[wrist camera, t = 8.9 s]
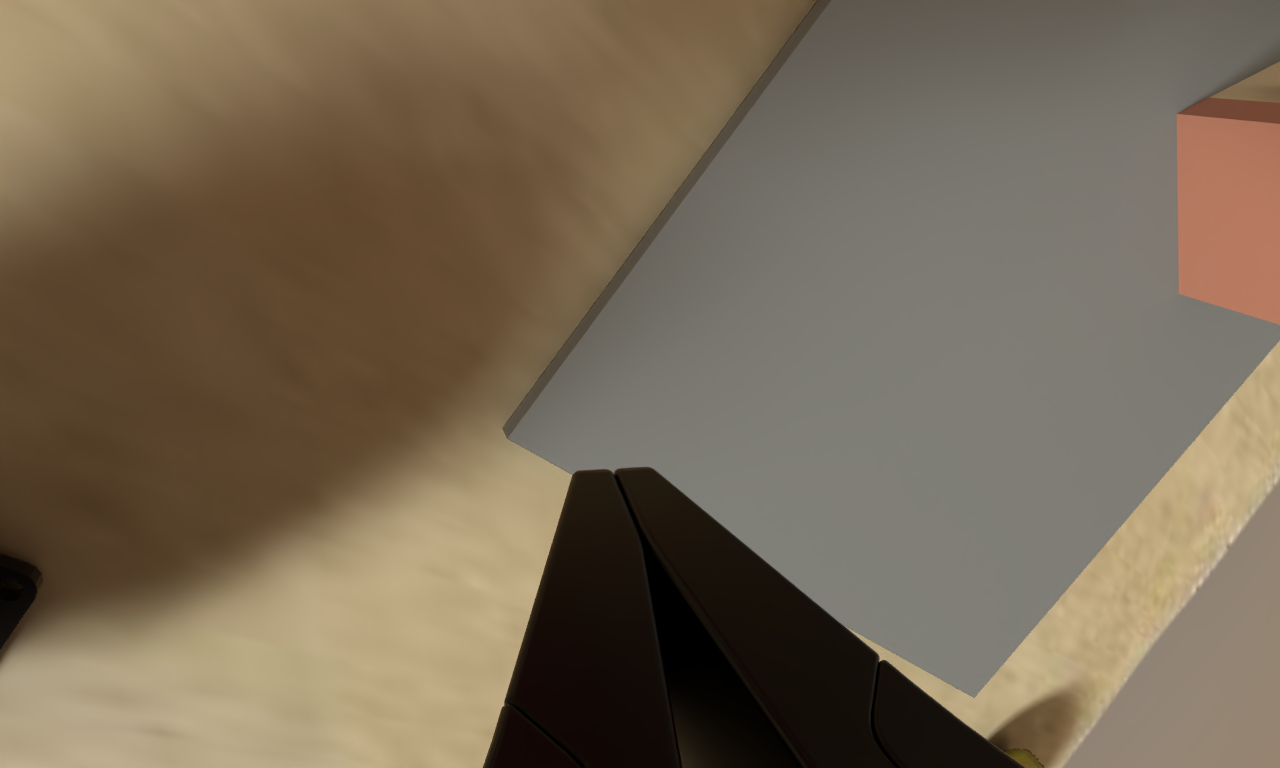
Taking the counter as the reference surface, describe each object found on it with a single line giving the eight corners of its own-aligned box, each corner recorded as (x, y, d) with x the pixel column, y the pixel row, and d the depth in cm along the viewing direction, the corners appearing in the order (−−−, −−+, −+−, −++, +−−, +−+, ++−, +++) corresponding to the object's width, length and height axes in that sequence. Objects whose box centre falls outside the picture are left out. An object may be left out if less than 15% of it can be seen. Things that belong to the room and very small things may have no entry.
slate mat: (963, 686, 32) (974, 698, 31) (502, 428, 21) (507, 438, 20) (1437, 129, 29) (1458, 131, 28) (1193, -509, 18) (1219, -525, 17)
